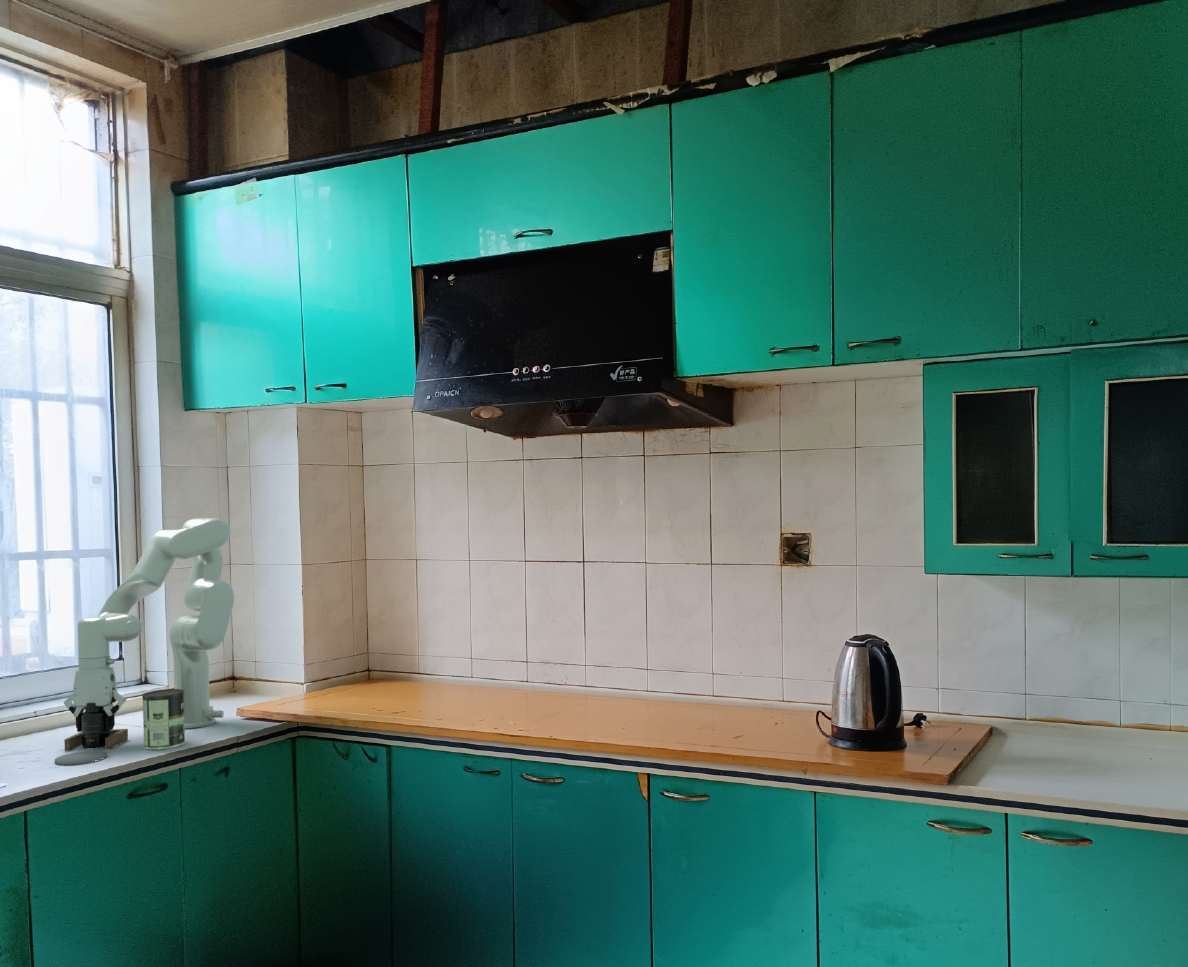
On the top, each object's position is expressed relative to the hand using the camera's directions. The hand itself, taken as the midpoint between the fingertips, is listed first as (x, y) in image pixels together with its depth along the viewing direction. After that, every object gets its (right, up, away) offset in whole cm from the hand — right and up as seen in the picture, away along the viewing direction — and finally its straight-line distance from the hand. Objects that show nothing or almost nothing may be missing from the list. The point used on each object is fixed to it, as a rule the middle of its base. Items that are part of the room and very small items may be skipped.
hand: (95, 729), depth 267 cm
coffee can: (+19, -4, -2) cm, 20 cm away
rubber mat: (+3, -4, -14) cm, 15 cm away
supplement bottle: (0, -5, 0) cm, 5 cm away
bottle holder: (0, -4, 0) cm, 4 cm away
